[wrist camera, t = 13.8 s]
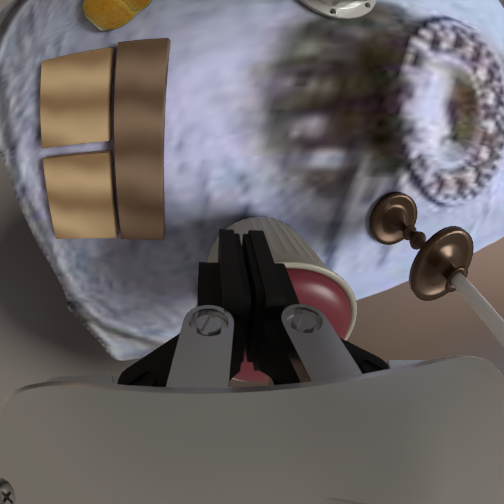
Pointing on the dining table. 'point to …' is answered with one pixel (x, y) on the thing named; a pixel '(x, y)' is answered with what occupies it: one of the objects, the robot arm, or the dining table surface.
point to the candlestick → (433, 256)
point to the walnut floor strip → (140, 136)
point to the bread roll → (112, 12)
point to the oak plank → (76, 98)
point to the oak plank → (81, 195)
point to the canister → (299, 279)
